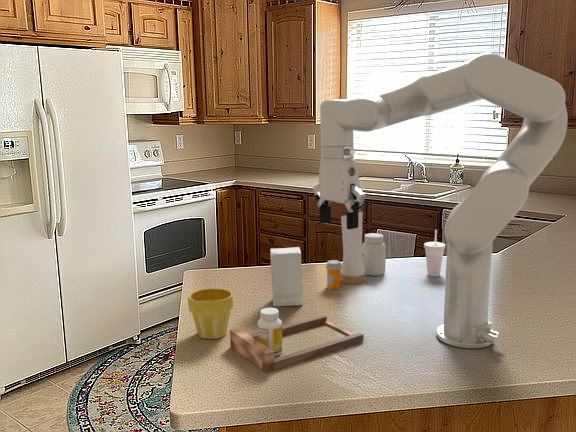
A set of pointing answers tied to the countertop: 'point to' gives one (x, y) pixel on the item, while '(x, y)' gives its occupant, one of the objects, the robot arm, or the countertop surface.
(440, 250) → the smoothie
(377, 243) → the toiletry set
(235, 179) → the countertop surface
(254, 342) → the frame
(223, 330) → the plant pot
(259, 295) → the countertop surface
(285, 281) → the skincare box
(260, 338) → the supplement bottle
